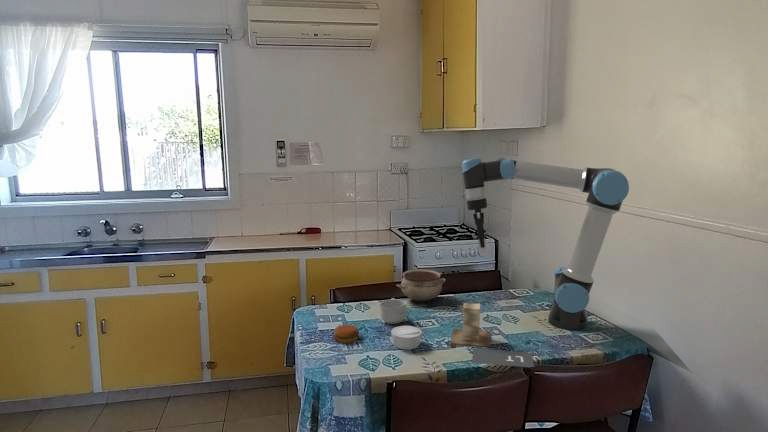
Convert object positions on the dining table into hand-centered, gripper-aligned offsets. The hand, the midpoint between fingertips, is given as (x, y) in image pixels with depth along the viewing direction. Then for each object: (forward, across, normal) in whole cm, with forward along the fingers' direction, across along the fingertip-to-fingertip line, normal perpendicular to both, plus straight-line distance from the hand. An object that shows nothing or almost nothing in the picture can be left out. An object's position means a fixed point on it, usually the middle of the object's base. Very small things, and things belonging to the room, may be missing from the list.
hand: (483, 252), depth 203 cm
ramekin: (+27, +22, -32) cm, 47 cm away
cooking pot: (+25, -30, -31) cm, 50 cm away
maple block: (+28, +14, -9) cm, 33 cm away
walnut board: (+30, +14, -9) cm, 34 cm away
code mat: (+32, +30, +2) cm, 44 cm away
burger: (+23, +20, -55) cm, 63 cm away
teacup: (+24, -2, -40) cm, 47 cm away
